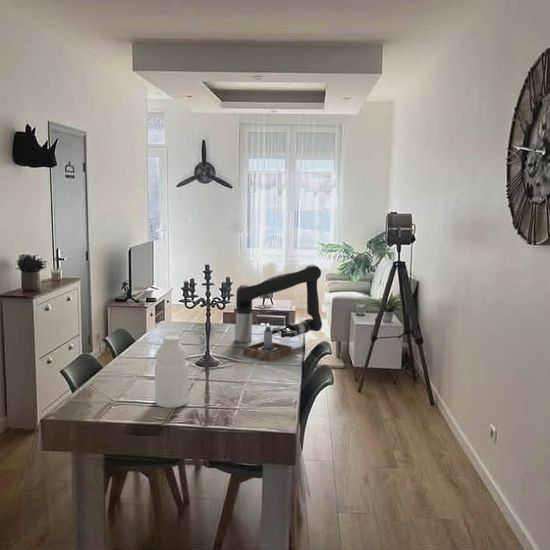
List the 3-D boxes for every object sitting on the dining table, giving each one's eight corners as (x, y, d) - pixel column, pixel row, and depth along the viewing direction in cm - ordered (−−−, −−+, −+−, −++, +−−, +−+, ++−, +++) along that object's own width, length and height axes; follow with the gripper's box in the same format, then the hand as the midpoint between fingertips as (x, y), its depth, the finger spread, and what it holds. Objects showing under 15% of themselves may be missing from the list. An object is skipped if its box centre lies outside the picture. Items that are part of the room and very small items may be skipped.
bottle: (158, 410, 218) (157, 343, 214) (151, 398, 231) (151, 334, 227) (192, 405, 224) (192, 340, 220) (184, 394, 237) (184, 331, 232)
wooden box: (243, 354, 297) (243, 347, 296) (265, 347, 312) (265, 340, 311) (270, 361, 285) (270, 354, 285) (291, 353, 300) (291, 346, 299)
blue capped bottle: (262, 352, 298) (262, 327, 296) (267, 350, 301) (267, 325, 299) (268, 353, 295) (268, 328, 293) (273, 352, 299) (273, 327, 297)
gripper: (286, 320, 318) (266, 325, 306) (304, 325, 308) (285, 330, 296) (285, 333, 319) (266, 338, 307) (304, 338, 309) (285, 343, 297)
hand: (275, 334), depth 302 cm, fingers open, 8 cm apart
